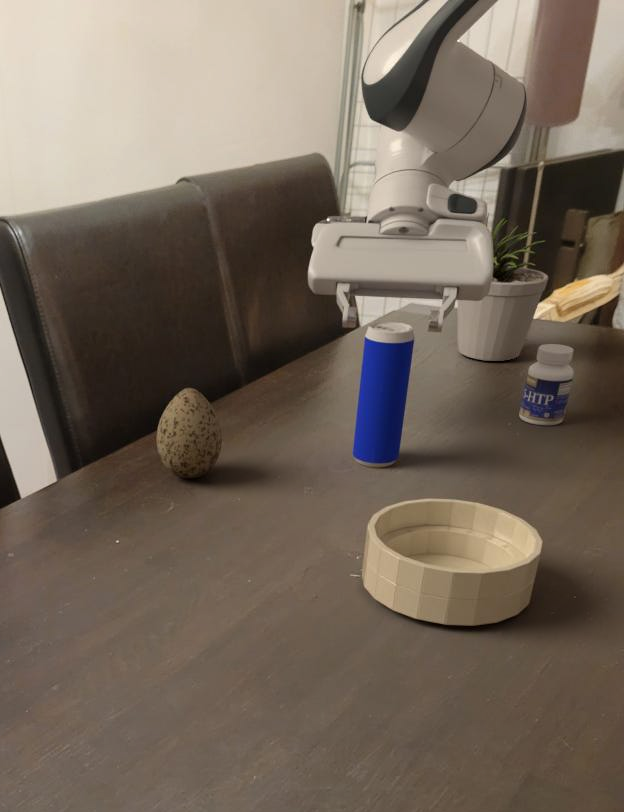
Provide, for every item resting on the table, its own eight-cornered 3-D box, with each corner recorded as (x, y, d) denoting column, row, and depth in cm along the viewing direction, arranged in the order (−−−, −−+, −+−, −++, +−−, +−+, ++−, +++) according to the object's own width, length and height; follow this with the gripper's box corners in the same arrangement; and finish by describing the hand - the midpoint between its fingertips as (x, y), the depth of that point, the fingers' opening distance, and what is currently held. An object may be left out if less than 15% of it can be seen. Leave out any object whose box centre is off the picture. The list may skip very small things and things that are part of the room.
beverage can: (404, 457, 110) (423, 324, 102) (387, 472, 107) (405, 336, 99) (362, 448, 113) (377, 318, 105) (344, 463, 109) (358, 329, 101)
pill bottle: (510, 419, 120) (524, 348, 116) (532, 409, 123) (546, 339, 119) (549, 429, 117) (565, 356, 112) (571, 419, 120) (587, 348, 115)
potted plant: (509, 340, 151) (535, 201, 140) (546, 365, 139) (577, 216, 128) (431, 342, 150) (451, 204, 139) (461, 368, 139) (485, 219, 128)
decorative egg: (232, 482, 105) (235, 392, 100) (174, 493, 103) (173, 403, 97) (202, 460, 111) (204, 374, 105) (146, 470, 108) (145, 383, 103)
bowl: (509, 554, 90) (520, 500, 87) (547, 635, 78) (562, 575, 75) (355, 550, 91) (361, 496, 88) (369, 628, 79) (377, 569, 76)
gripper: (314, 198, 109) (297, 307, 106) (502, 202, 104) (489, 316, 102) (315, 233, 115) (299, 337, 112) (493, 238, 110) (481, 346, 108)
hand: (391, 327), depth 107 cm, fingers open, 8 cm apart
